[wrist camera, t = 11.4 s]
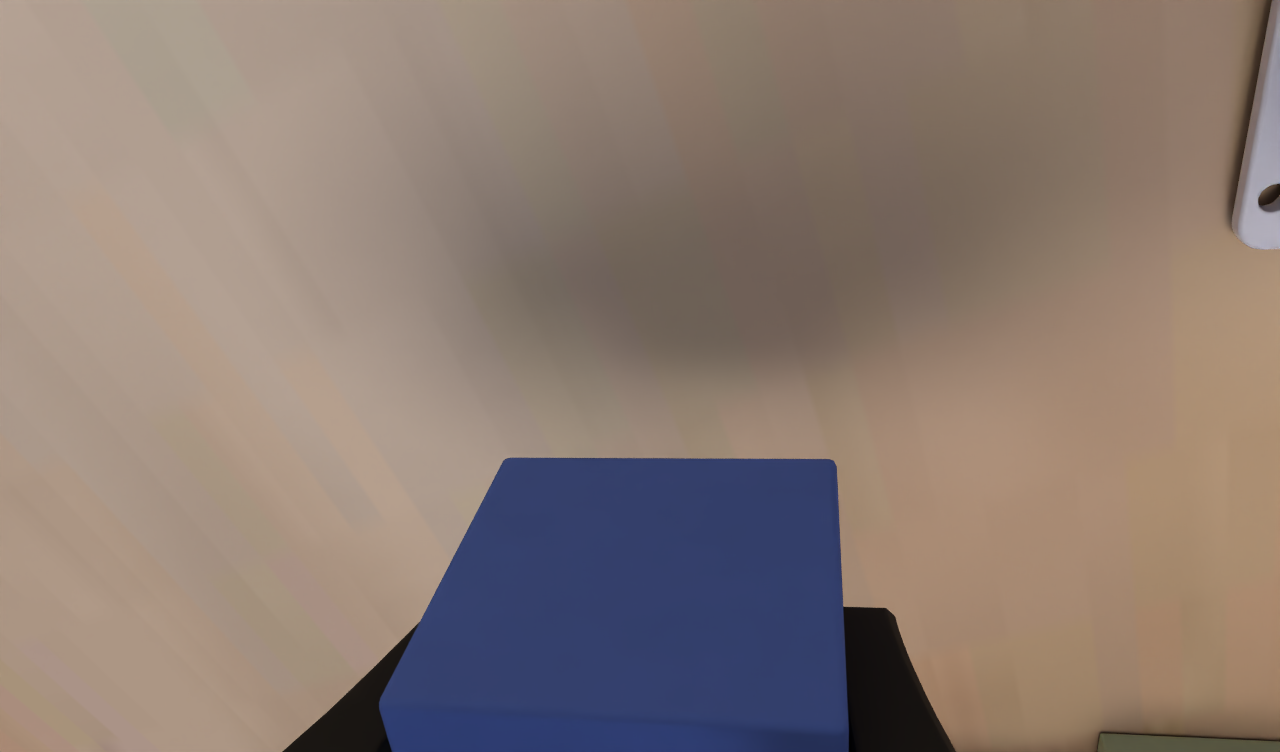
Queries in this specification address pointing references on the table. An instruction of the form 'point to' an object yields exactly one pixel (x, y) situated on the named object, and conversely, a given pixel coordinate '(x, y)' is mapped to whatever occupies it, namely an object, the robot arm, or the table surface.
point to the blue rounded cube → (635, 614)
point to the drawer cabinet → (1180, 744)
